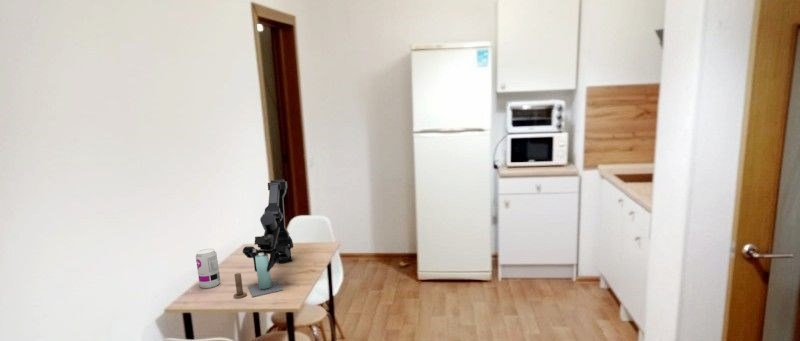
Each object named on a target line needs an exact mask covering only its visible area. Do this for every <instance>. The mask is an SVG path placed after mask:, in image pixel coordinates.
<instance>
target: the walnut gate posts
mask: <svg viewBox="0 0 800 341" xmlns="http://www.w3.org/2000/svg"><path fill="white" fill-rule="evenodd" d="M234 282H235V289H236V293H235V294H233V299H236V300H238V299H244V298H245V297H247V296H248V293H247V292H246V291H244V289H243V288H244V287H243V281H242V273H241V272H240V273H239V272H238V273H235V274H234Z"/></svg>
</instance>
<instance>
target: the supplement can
mask: <svg viewBox="0 0 800 341" xmlns="http://www.w3.org/2000/svg"><path fill="white" fill-rule="evenodd" d="M195 263H196V268H197V275H198V284H199V286H200V287H201V288H202V289H211V288H215V287H217V286H218V285H219V284H220V283H221V276H220V269H219V268H220V267H219V261H218V254H217V251H216V250H215V249H214V248H205V249H201V250H199V251H197V252H196V255H195Z"/></svg>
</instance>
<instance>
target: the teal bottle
mask: <svg viewBox="0 0 800 341" xmlns="http://www.w3.org/2000/svg"><path fill="white" fill-rule="evenodd" d="M255 260H256V269H257V272H256V276H257V285H259V289H267V288H270V287H271V281H272V279H271V278H272V277H271V270H270V271H269V272H268V271H267V267H268V263H269V260H270V259H269V254H264V252H261V253H258V255H257V256H255Z"/></svg>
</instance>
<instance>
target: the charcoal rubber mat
mask: <svg viewBox="0 0 800 341" xmlns="http://www.w3.org/2000/svg"><path fill="white" fill-rule="evenodd" d="M247 289H248V290H249V292H250V295H252V296H251V298H252V297H253V298H256V297H261V296H264V295H268V294H273V293H277V292H282V291H284V289H283V287H282V285H281V283H280V281H279V280H278V279H276V280H271V287H270V288H267V289H259V285H258V284H254V285H249V286H247Z"/></svg>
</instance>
